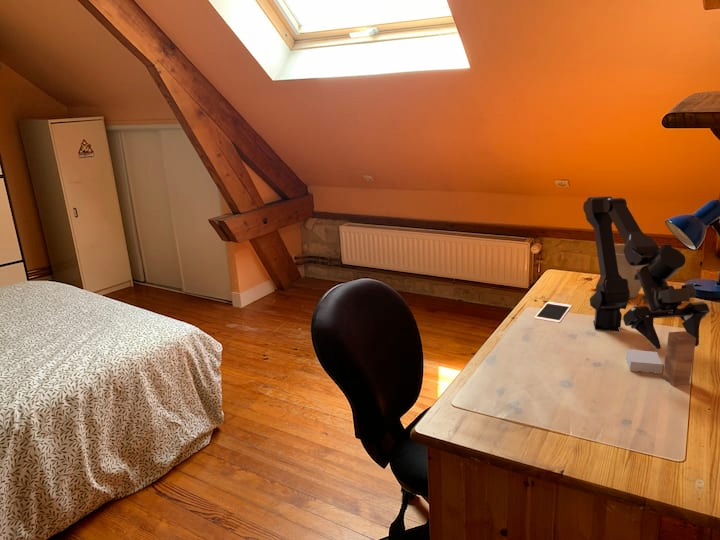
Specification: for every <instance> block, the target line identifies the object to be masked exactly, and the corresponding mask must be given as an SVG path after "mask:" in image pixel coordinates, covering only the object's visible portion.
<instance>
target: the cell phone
mask: <svg viewBox="0 0 720 540" xmlns="http://www.w3.org/2000/svg"><path fill="white" fill-rule="evenodd" d="M572 306H573V305H572V304H567V303H560V302H553V301H547V302H546V303H545V304H544V305H543V306H542V307H541V309H540V310H539V311H538V312H537V314H535V316H534V317H533V318H534V319H535V320H540V321H546V322H553V323H559V324H560V323H561V322H562V321H563V319H564V318H565V316H566V315H567V313H568V312H569V311H570V309H571V308H572Z"/></svg>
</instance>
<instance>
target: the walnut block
mask: <svg viewBox="0 0 720 540" xmlns="http://www.w3.org/2000/svg"><path fill="white" fill-rule="evenodd" d="M666 343H667V344H666V351H665V358H664V366H663V373H662V379H663V378H664V379H665V380H664V379H663V380H664V381H666V382H667V383H668V382H669V383H670V386H672V387H679V386H680V387H681V385H682V386H683V387H684V386H690V383H691V377H692V376H691V375H692V368H693V363H694V358H695V357H694V356H695V348H696V346H695V343H696V338H695V337H694V336H692V335H690V334H689V333H687V332H686V330H684V331H683V330H682V331H672V332H671V331H669V332H668V336H667V342H666Z"/></svg>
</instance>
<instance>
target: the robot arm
mask: <svg viewBox="0 0 720 540" xmlns="http://www.w3.org/2000/svg"><path fill="white" fill-rule="evenodd" d="M627 204H628V203H627V200H626V199H625V198H623V197H613V196H610V195H607V196H592V197H591V196H589V197H588V198H587V199H586V200H585V201H584V203H583V206H582V207H583V212H584V213H585V214H584V215H585V219H586V222H588V223H589V224H590V225H591V227H592V228H593V232H594V234H593V235H594V240H595V246H596V254H597V261H598V266H599V267H598V268H599V274H600V277H599V278H598V281H597V283H596V285H595V291H596V292H595V293H593V294H592V296H591V297H590V298H589V306H590V307H591V308H593V309H594V320H593V327H594V330H596V331H605V332H606V331H607V332H608V331H609V332H620V328H621V325H622V320H623V323H624V325H625V326H626V327H628V326H629V327H630V328H631V329H632V330H633V329H635V330H636V331H637V332H638V333H640V334H641V335H642V336H643V337H644V338H645V339H646V340H647V341H648V342H650V343H651V345H652V346H654V347H655V349H657V350H660V349H661V348H662V346H661V343H660V342H661V341H660V339H659V337H658V334H657V331H656V329H655V326H654V319H663V318H675V317H676V318H677V317H678V318H680V319H681V320H682V321H683V322H682V323H681V324H682V326H683V328H684V331H686V332H687V333H689V334H690V335H692V336H694V337H695V338H696V343H695V347H698V346H699V345H700V326H701V320H702V319H704V318H705V317H707V315H708V314H709V313H710V312H711V309H710V306H709V304H708V303H706V302H705V301H697V302H695V301H694V302H691V298H692V299H693V298H696V297H697V291H696V289H695V286H694V285H693V284H692V283H691V284H682V285H681V288H675V287H674V286H673V285H669V283H668V280H667V279H670V278H671V277H673V276H674V275H675V274H676V273H677V272H679V270H680V269H681V268H683V267H684V265H685V263H686V257H685V255H684V254H683V253H682V252H681V251H680V250H678V249H677V248H674V247H673V246H672V244H671V243H668V244H667V243H666V244H661V245H660V246H659V245H658V244H657V243H656V241H655V240H654V239H653V238H652V237H650V236H648V235H647V234H645V233H644V232H643V230H642V229H641V227H640V225H639V224H638V222H637V220H636V219H635V218H634V216H633V214H632V212H631V211H630V209H629V207H628V205H627ZM612 224H613V225H614V226H615V228H616V230H617V232H618V233H619V235H620V237H621V240H622V241H623V244H625V246H624V250H623V252H624V254H625V258H626V260H627V262H628V263H629V264H630V265H631V266H642V265H646V266H644V267H642V268H641V269H638V270H637V273H636V274H635V276H634V280H640V283H641V286H642V287H641V289H642V291H643V294H644V295H643V296H642V300H643V301H645V302H647V305H640V306H639V305H638V306H632V307H631V308H630V309H629V310H627V311H626V312H625V313H624V315H622V312H621V310H626V309H627V306H628V304H629V301H630V299H631V298H630V291H629V288H628V281H627V279H626V278H625V279H623V278H622V277H621V276H620V274H619V271H618V264H617V258H616V251H615V245H616V244H615V240H614V232H613V225H612ZM683 302H688V303H687V304H686V305H685V306H684V307H683V308H681V306H682V305H683ZM679 307H680V308H679ZM622 317H623V319H622Z"/></svg>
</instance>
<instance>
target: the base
mask: <svg viewBox="0 0 720 540" xmlns="http://www.w3.org/2000/svg"><path fill="white" fill-rule="evenodd" d="M625 352H626V353H625V361H626V360H627V361H626V364H627V363H628V364H627V367H628V366H629V367H628V369H630V370H631V371H630V370H629V371H630V372H638V371H642V372H641V373H649V372H656V373H655V374H660V373H661V374H662V371H663V370H662V369H663V363H662V361H661V359H660V356H659V354H658V352H657V351H651V350H650V351H649V350H648V351H647V350H637V349H636V350H635V349H626V351H625Z"/></svg>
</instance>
